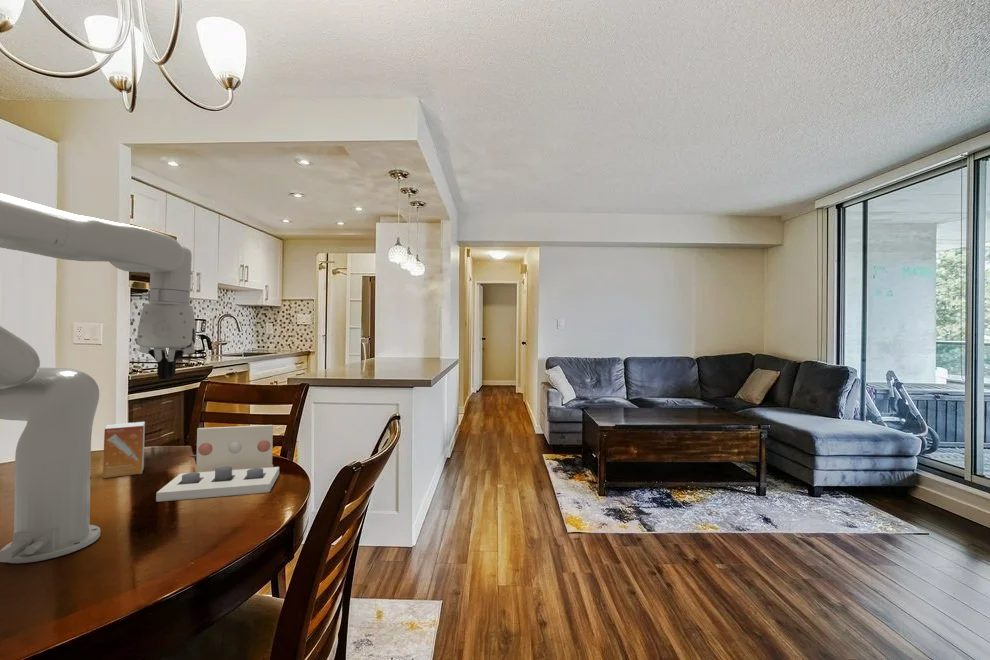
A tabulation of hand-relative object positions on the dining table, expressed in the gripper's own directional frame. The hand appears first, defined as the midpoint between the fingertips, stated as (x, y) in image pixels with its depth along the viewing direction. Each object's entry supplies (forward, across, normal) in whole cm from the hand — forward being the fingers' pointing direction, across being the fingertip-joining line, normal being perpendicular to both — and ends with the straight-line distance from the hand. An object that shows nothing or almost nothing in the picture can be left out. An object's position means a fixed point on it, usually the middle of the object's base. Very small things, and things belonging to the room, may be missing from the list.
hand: (166, 378), depth 100 cm
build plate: (+27, -3, +38) cm, 47 cm away
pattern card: (+27, +10, +18) cm, 34 cm away
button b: (+26, +11, +7) cm, 29 cm away
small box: (+27, -18, +24) cm, 41 cm away
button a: (+27, +4, +7) cm, 28 cm away
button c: (+27, +18, +7) cm, 33 cm away
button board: (+27, +11, +7) cm, 30 cm away
